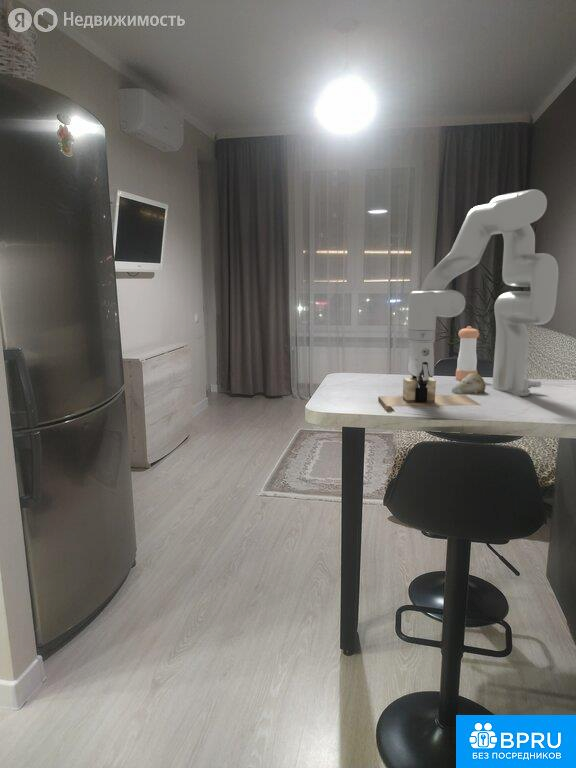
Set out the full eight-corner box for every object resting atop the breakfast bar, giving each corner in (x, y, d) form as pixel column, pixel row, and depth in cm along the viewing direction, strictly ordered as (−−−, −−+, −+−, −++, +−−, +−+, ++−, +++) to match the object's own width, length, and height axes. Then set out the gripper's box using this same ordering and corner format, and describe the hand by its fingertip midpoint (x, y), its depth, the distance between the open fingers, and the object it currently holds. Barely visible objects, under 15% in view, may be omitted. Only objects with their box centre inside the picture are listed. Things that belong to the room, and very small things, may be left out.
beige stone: (443, 396, 159) (453, 367, 161) (468, 408, 162) (478, 379, 164) (458, 395, 152) (468, 365, 154) (484, 408, 155) (494, 377, 157)
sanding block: (430, 398, 149) (431, 377, 148) (434, 401, 145) (435, 380, 143) (402, 398, 149) (403, 378, 148) (406, 402, 144) (407, 381, 143)
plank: (464, 400, 153) (465, 395, 153) (480, 410, 141) (480, 404, 141) (378, 401, 153) (378, 396, 152) (386, 411, 141) (386, 406, 141)
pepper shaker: (470, 382, 180) (473, 327, 176) (451, 379, 185) (454, 326, 181) (480, 379, 185) (484, 326, 181) (462, 376, 190) (465, 324, 186)
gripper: (444, 339, 135) (440, 406, 138) (425, 332, 151) (422, 393, 155) (415, 339, 135) (413, 407, 138) (400, 333, 151) (398, 393, 155)
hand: (418, 399), depth 147 cm, fingers closed on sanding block, 4 cm apart
